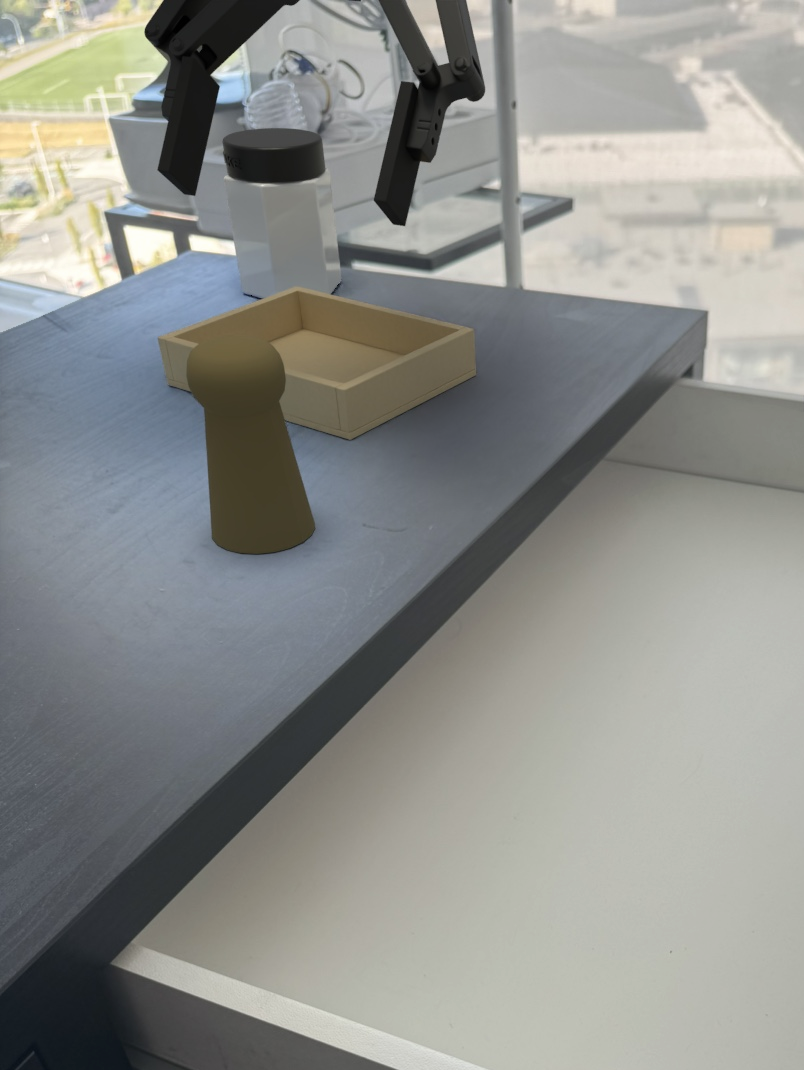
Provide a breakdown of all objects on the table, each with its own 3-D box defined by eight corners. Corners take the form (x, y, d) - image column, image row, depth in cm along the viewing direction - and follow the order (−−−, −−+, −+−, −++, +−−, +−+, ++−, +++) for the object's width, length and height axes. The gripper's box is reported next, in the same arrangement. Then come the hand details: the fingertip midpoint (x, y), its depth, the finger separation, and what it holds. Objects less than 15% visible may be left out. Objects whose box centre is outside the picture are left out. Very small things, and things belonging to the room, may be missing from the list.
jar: (262, 271, 108) (240, 124, 100) (349, 275, 107) (334, 128, 100) (231, 301, 101) (205, 147, 93) (324, 306, 100) (305, 151, 93)
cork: (192, 526, 69) (152, 338, 62) (282, 497, 73) (253, 315, 65) (242, 564, 66) (205, 371, 59) (334, 532, 69) (309, 345, 62)
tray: (167, 385, 86) (157, 337, 84) (302, 330, 96) (296, 285, 94) (350, 440, 79) (344, 389, 77) (476, 375, 89) (474, 328, 87)
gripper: (134, -247, 64) (50, 135, 65) (559, -227, 59) (461, 191, 59) (208, -140, 71) (132, 203, 72) (592, -113, 66) (505, 258, 67)
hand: (280, 199), depth 66 cm, fingers open, 13 cm apart
